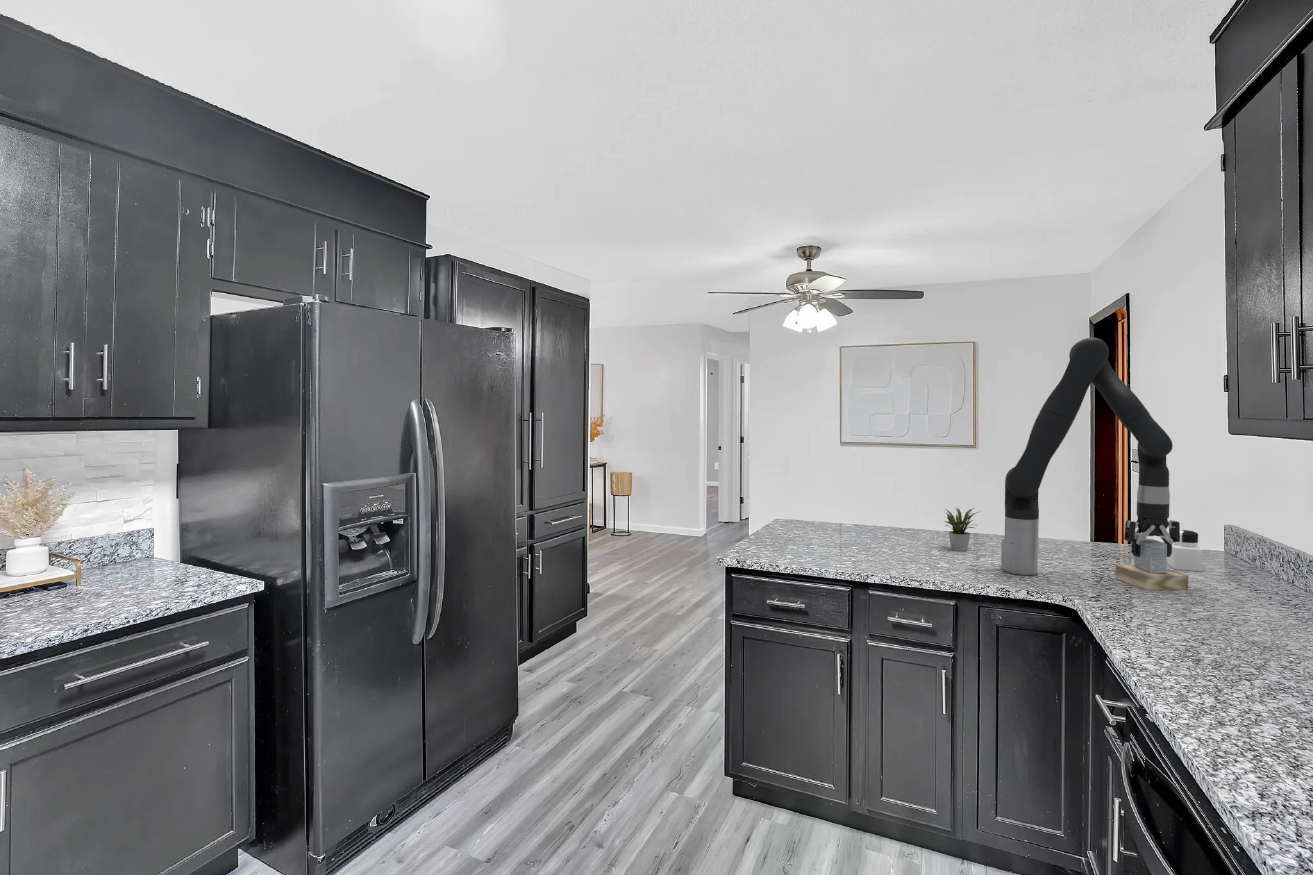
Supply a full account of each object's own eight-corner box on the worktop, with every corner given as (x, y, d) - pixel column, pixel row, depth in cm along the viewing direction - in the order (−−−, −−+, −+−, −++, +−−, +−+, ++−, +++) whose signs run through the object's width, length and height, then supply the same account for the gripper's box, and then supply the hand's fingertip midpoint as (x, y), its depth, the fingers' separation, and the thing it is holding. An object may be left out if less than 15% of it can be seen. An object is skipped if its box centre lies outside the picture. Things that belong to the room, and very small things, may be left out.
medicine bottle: (1195, 566, 207) (1196, 529, 207) (1202, 571, 201) (1204, 533, 200) (1167, 564, 210) (1168, 528, 210) (1174, 569, 204) (1175, 532, 203)
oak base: (1144, 589, 182) (1145, 575, 182) (1115, 578, 194) (1115, 565, 194) (1187, 589, 182) (1188, 575, 182) (1155, 578, 194) (1156, 565, 194)
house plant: (987, 548, 235) (988, 504, 235) (983, 556, 224) (983, 509, 223) (944, 544, 243) (945, 501, 242) (938, 551, 231) (939, 506, 231)
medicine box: (1167, 573, 184) (1167, 543, 183) (1149, 573, 184) (1150, 543, 184) (1150, 567, 192) (1150, 538, 191) (1133, 566, 192) (1134, 537, 192)
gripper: (1137, 503, 183) (1135, 559, 184) (1188, 502, 183) (1186, 559, 184) (1119, 499, 191) (1117, 553, 192) (1167, 499, 190) (1166, 553, 191)
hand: (1151, 556), depth 188 cm, fingers open, 8 cm apart
